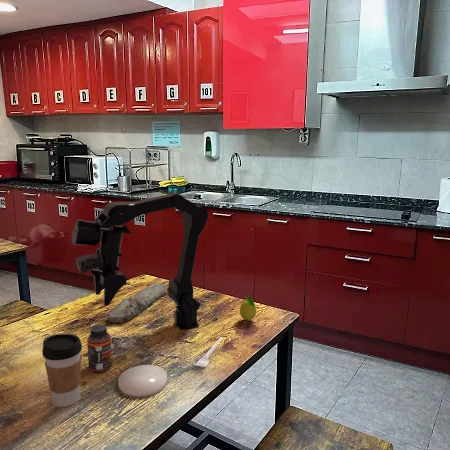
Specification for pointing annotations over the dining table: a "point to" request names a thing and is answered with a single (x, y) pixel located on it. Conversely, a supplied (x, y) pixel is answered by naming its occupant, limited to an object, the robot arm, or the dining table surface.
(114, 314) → the elongated rock
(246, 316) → the lemon
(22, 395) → the dining table surface
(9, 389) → the dining table surface
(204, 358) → the fork
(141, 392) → the beige flattened disc
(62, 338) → the coffee cup
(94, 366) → the supplement bottle
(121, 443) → the dining table surface
